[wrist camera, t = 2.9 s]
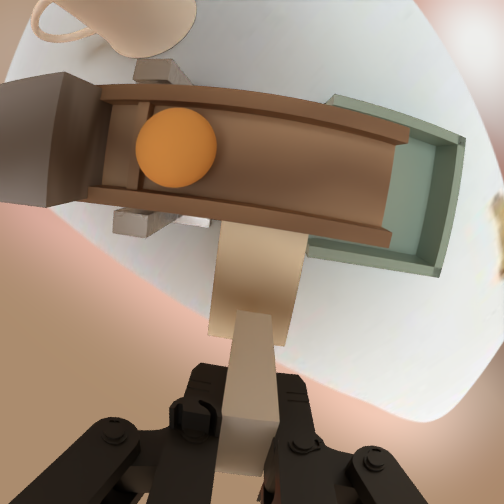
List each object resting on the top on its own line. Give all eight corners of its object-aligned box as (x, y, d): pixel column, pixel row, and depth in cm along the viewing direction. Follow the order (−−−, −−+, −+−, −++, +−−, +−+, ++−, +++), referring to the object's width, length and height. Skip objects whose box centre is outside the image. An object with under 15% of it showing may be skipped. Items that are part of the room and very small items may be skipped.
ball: (157, 112, 14) (129, 98, 11) (226, 118, 14) (216, 103, 11) (147, 181, 15) (117, 185, 11) (215, 190, 15) (202, 195, 12)
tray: (323, 105, 22) (334, 94, 19) (441, 140, 23) (465, 138, 19) (300, 243, 25) (307, 256, 22) (417, 263, 26) (439, 277, 22)
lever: (37, 98, 15) (-27, 84, 9) (389, 129, 15) (449, 114, 9) (28, 283, 18) (-27, 317, 12) (341, 342, 18) (370, 407, 12)
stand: (159, 88, 22) (108, 50, 13) (230, 93, 22) (212, 48, 13) (141, 216, 25) (82, 242, 16) (210, 226, 25) (181, 259, 16)
